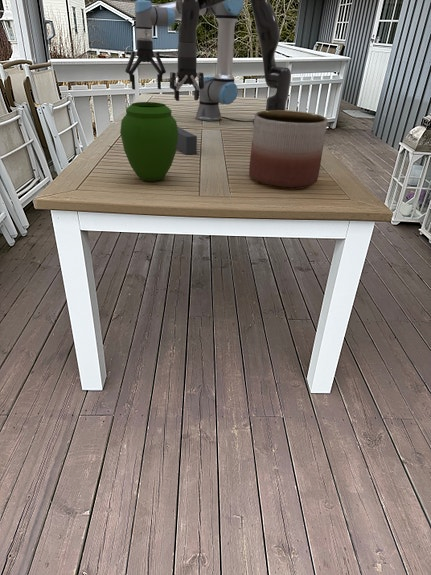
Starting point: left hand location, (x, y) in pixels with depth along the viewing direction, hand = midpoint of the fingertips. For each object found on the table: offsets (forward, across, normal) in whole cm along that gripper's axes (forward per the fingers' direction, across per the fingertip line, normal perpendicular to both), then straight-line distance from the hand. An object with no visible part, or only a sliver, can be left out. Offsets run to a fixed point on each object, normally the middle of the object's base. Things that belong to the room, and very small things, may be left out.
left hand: (146, 89), depth 206 cm
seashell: (+20, +61, -16) cm, 66 cm away
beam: (+20, 0, -24) cm, 31 cm away
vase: (+20, -28, -79) cm, 86 cm away
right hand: (-1, 0, -48) cm, 48 cm away
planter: (+20, +17, -97) cm, 100 cm away
